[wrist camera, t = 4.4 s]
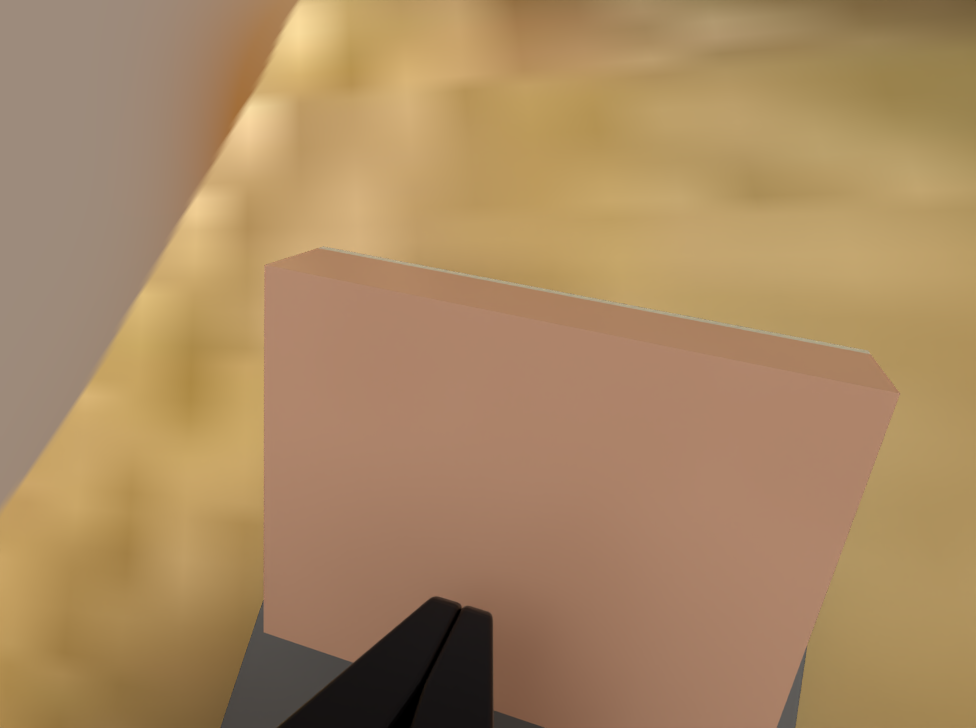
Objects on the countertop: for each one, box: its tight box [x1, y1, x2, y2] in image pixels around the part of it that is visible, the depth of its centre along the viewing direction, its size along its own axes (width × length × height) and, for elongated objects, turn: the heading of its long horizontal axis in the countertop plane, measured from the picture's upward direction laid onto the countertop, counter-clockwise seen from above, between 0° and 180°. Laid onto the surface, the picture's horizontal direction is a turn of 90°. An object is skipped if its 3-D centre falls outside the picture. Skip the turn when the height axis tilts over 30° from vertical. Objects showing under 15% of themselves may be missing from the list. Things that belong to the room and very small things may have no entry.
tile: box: [264, 247, 900, 728], centre depth 13 cm, size 2×10×8 cm
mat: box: [221, 600, 807, 728], centre depth 16 cm, size 13×12×1 cm
